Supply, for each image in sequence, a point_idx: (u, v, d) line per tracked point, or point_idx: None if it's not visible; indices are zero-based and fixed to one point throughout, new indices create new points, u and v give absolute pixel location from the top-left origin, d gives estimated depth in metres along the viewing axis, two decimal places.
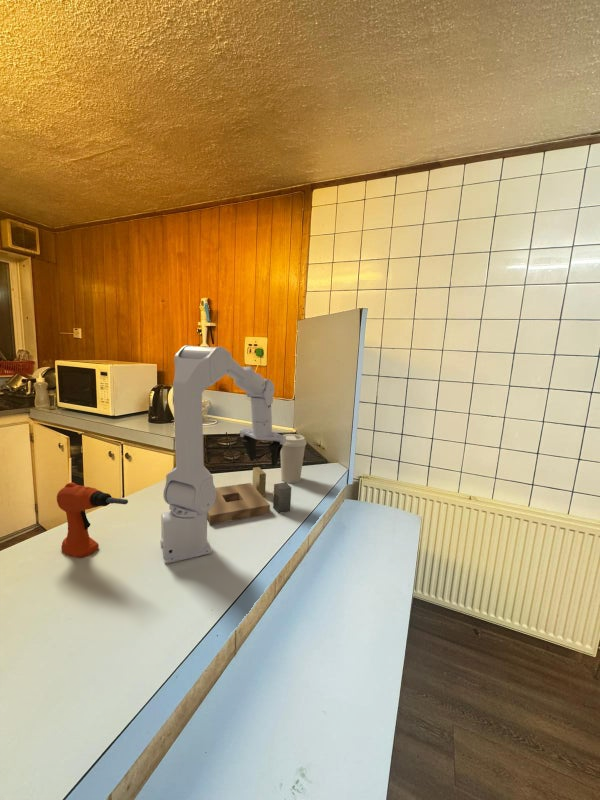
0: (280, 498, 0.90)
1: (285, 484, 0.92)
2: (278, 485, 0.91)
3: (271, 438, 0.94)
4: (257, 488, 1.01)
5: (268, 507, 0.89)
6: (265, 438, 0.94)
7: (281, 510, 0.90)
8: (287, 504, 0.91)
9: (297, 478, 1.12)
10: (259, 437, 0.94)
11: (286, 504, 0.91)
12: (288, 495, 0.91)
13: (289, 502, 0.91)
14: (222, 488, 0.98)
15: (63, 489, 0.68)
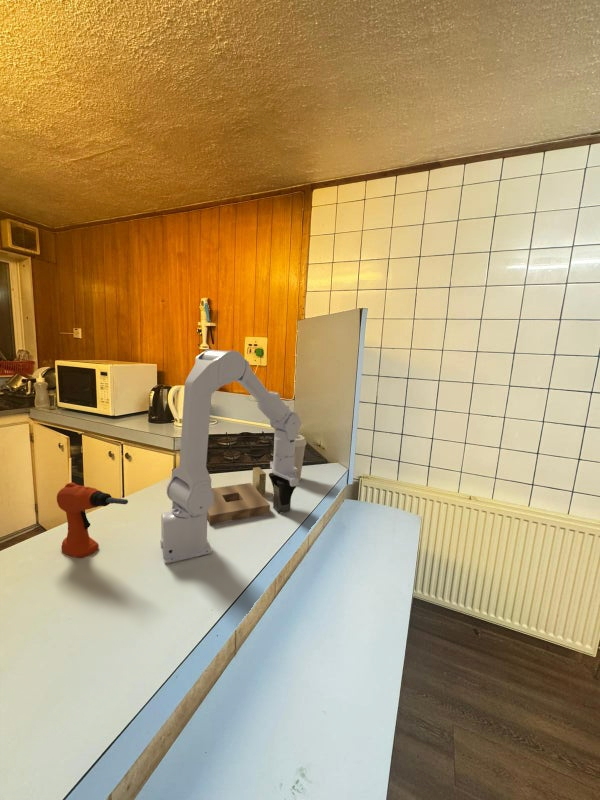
0: None
1: None
2: None
3: (283, 476, 0.86)
4: (257, 488, 1.01)
5: (268, 507, 0.89)
6: (278, 475, 0.88)
7: (281, 510, 0.90)
8: None
9: None
10: (274, 471, 0.89)
11: None
12: None
13: (289, 502, 0.91)
14: (222, 488, 0.98)
15: (63, 489, 0.68)
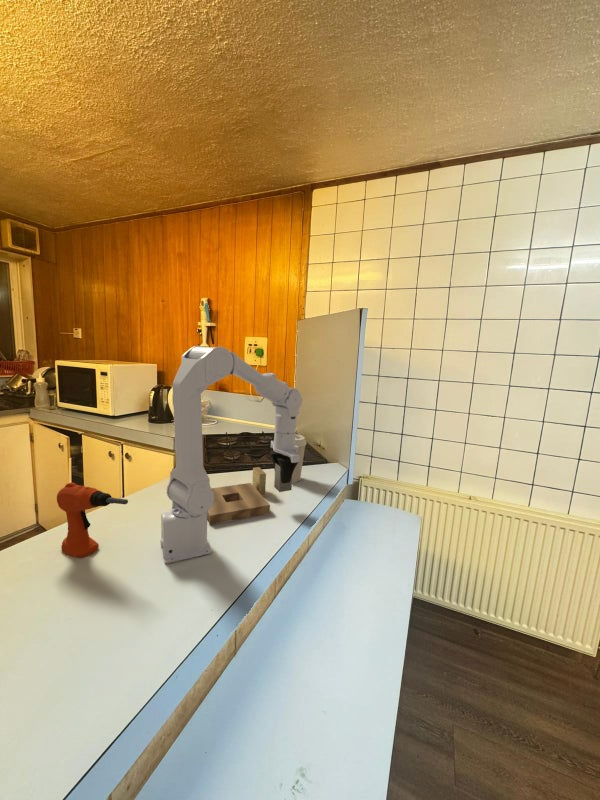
0: None
1: None
2: None
3: (284, 453, 0.85)
4: (257, 488, 1.01)
5: (268, 507, 0.89)
6: (279, 452, 0.87)
7: (282, 489, 0.89)
8: (288, 483, 0.90)
9: (297, 478, 1.12)
10: (275, 449, 0.88)
11: None
12: None
13: (290, 481, 0.90)
14: (222, 488, 0.98)
15: (63, 489, 0.68)
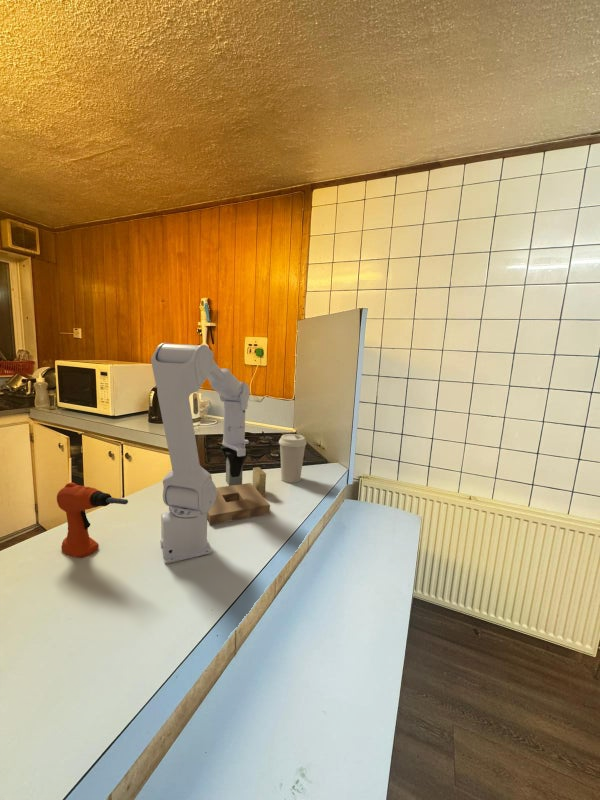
0: None
1: None
2: None
3: (231, 447, 0.86)
4: (257, 488, 1.01)
5: (268, 507, 0.89)
6: (227, 446, 0.87)
7: (232, 482, 0.90)
8: (238, 477, 0.91)
9: (297, 478, 1.12)
10: (223, 443, 0.88)
11: None
12: None
13: (241, 475, 0.91)
14: (222, 488, 0.98)
15: (63, 489, 0.68)
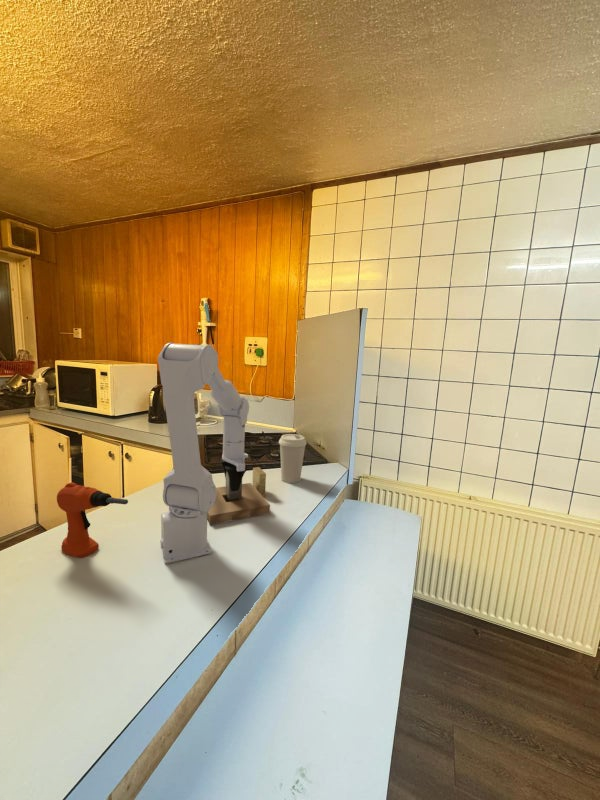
0: None
1: None
2: None
3: (231, 461, 0.87)
4: (257, 488, 1.01)
5: (268, 507, 0.89)
6: (227, 460, 0.88)
7: (232, 496, 0.91)
8: (238, 491, 0.91)
9: (297, 478, 1.12)
10: (223, 457, 0.89)
11: None
12: None
13: (240, 488, 0.91)
14: (222, 488, 0.98)
15: (63, 489, 0.68)
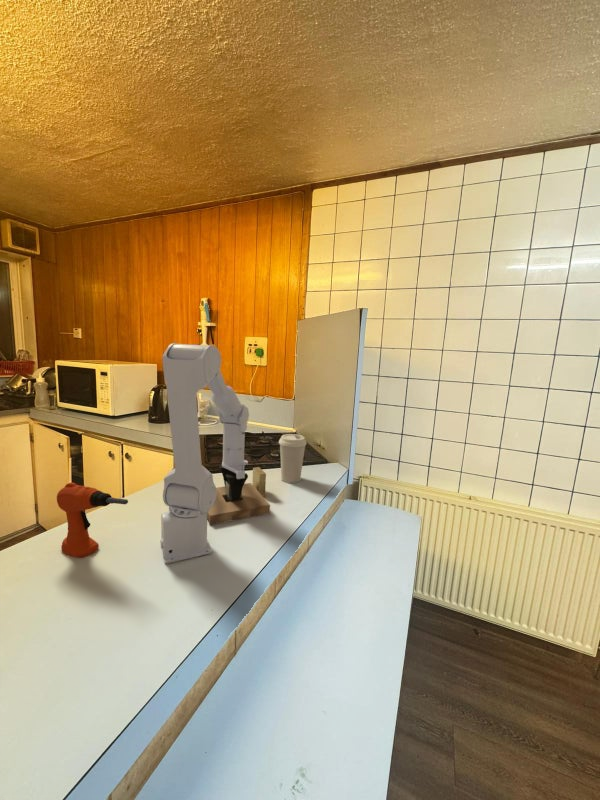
0: (230, 494, 0.90)
1: None
2: None
3: (231, 469, 0.87)
4: (257, 488, 1.01)
5: (268, 507, 0.89)
6: (227, 467, 0.88)
7: None
8: (237, 500, 0.92)
9: (297, 478, 1.12)
10: (223, 464, 0.89)
11: (236, 500, 0.91)
12: None
13: (240, 498, 0.92)
14: (222, 488, 0.98)
15: (63, 489, 0.68)
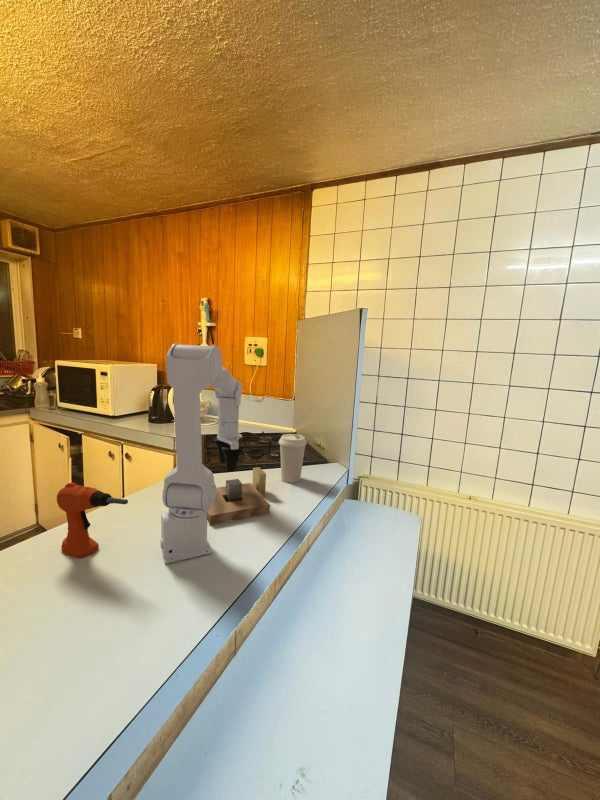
0: (230, 494, 0.90)
1: (237, 480, 0.93)
2: (229, 481, 0.92)
3: (225, 440, 0.91)
4: (257, 488, 1.01)
5: (268, 507, 0.89)
6: (221, 440, 0.92)
7: None
8: None
9: (297, 478, 1.12)
10: (218, 437, 0.94)
11: (236, 500, 0.91)
12: (239, 491, 0.91)
13: (240, 498, 0.92)
14: (222, 488, 0.98)
15: (63, 489, 0.68)
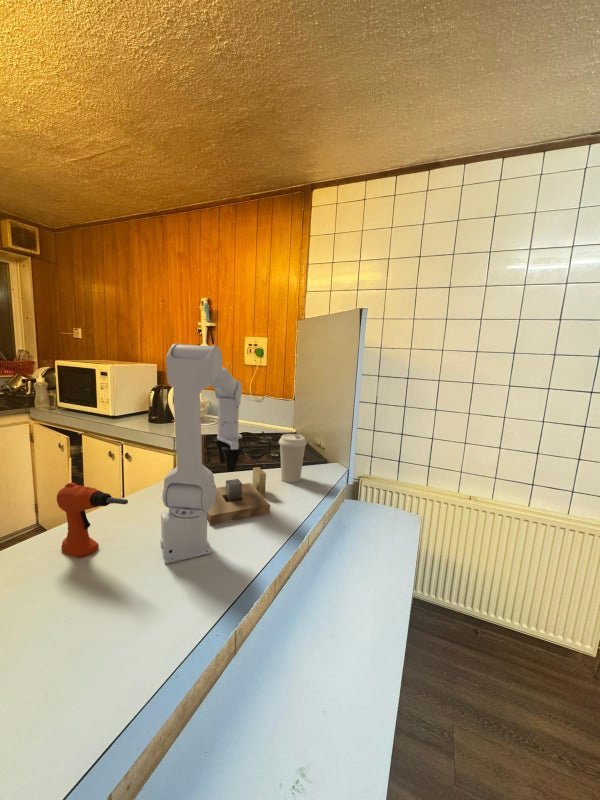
0: (230, 494, 0.90)
1: (237, 480, 0.93)
2: (229, 481, 0.92)
3: (225, 440, 0.91)
4: (257, 488, 1.01)
5: (268, 507, 0.89)
6: (221, 440, 0.92)
7: None
8: None
9: (297, 478, 1.12)
10: (218, 437, 0.94)
11: (236, 500, 0.91)
12: (239, 491, 0.91)
13: (240, 498, 0.92)
14: (222, 488, 0.98)
15: (63, 489, 0.68)
